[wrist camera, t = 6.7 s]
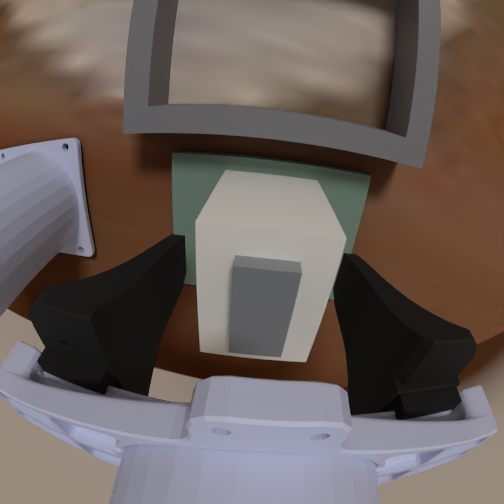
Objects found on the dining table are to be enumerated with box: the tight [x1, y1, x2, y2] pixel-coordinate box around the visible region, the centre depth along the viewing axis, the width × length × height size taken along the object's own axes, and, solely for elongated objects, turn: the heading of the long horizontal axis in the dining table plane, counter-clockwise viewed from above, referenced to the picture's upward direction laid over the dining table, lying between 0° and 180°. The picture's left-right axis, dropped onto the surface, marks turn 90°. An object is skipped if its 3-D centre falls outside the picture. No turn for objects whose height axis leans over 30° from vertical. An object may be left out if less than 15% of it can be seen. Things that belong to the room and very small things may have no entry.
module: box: [195, 170, 347, 362], centre depth 12 cm, size 4×6×7 cm
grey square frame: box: [124, 0, 441, 169], centre depth 9 cm, size 13×11×2 cm
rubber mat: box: [172, 151, 371, 300], centre depth 15 cm, size 10×8×1 cm
